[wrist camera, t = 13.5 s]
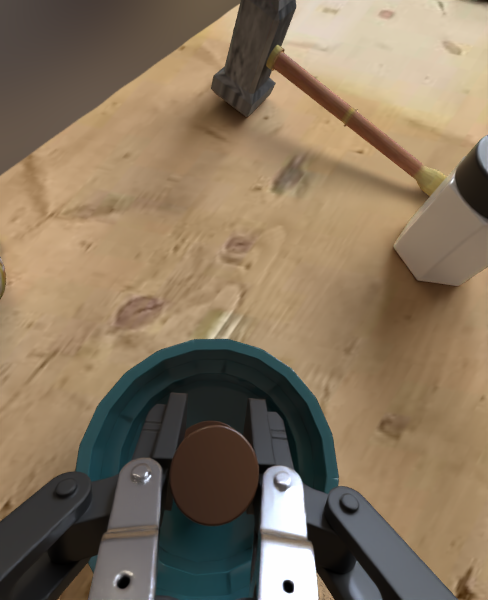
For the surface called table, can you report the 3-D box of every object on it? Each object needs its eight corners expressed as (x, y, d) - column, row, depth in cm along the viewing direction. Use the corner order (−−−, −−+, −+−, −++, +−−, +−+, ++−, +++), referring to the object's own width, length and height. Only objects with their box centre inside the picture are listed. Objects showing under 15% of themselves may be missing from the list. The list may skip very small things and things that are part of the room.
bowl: (265, 338, 30) (278, 312, 24) (344, 530, 24) (384, 551, 19) (86, 397, 26) (55, 382, 21) (129, 641, 20) (101, 707, 15)
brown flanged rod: (232, 411, 24) (264, 360, 11) (258, 488, 22) (333, 534, 9) (160, 438, 22) (104, 415, 10) (182, 523, 20) (145, 630, 8)
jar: (485, 274, 35) (607, 196, 25) (428, 299, 33) (534, 225, 23) (435, 213, 39) (523, 119, 28) (379, 231, 37) (452, 138, 26)
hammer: (515, 146, 29) (245, -74, 28) (392, 233, 44) (209, 92, 42) (526, 112, 32) (279, -92, 30) (406, 205, 46) (234, 71, 44)
